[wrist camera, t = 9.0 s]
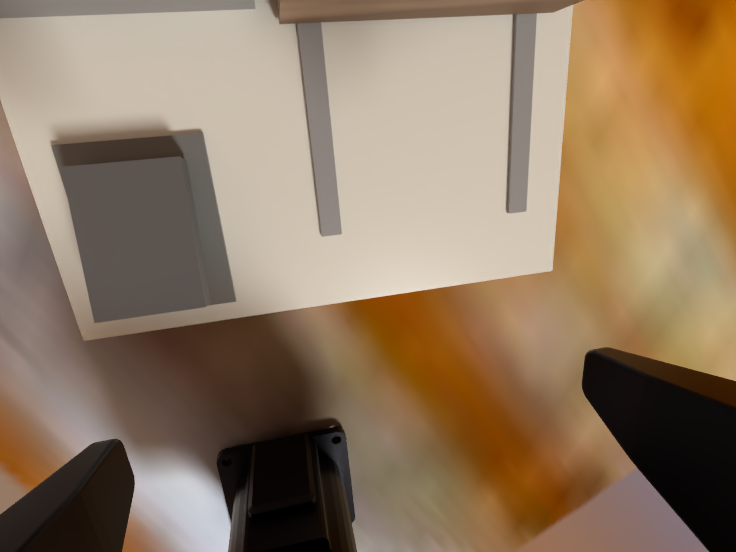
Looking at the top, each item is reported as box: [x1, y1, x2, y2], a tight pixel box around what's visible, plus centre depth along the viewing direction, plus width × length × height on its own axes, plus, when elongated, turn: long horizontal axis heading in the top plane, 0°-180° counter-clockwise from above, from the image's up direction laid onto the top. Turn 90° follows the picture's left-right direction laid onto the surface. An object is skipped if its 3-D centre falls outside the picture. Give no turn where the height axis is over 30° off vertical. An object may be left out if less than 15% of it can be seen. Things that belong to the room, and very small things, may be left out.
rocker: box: [61, 156, 211, 323], centre depth 14 cm, size 5×4×1 cm
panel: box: [0, 0, 573, 341], centre depth 15 cm, size 20×20×4 cm
